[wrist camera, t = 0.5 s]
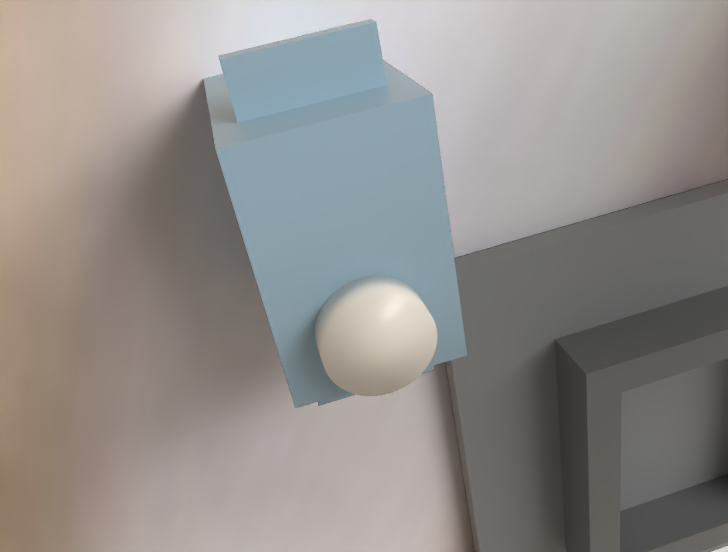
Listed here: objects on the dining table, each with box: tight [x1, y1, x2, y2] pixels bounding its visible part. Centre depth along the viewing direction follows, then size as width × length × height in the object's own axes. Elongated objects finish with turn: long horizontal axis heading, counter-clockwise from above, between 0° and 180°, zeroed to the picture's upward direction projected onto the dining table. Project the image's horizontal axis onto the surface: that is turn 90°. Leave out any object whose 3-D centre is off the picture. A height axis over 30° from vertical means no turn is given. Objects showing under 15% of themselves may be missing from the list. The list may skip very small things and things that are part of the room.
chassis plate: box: [446, 179, 728, 552], centre depth 25 cm, size 16×18×3 cm
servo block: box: [203, 19, 467, 408], centre depth 16 cm, size 4×8×7 cm, turn 11°
